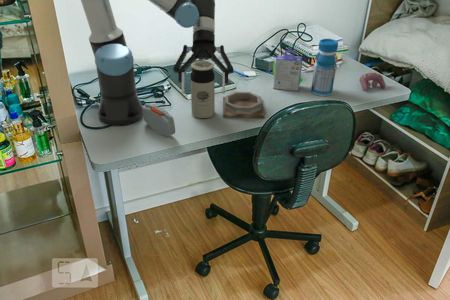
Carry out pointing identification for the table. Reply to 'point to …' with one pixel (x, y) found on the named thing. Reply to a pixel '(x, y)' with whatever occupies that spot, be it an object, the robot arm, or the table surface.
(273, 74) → the puzzle toy
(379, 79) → the pink arch
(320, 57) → the beverage bottle
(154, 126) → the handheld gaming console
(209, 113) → the travel mug
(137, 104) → the robot arm
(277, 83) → the ink cartridge box
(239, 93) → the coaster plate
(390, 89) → the table surface
